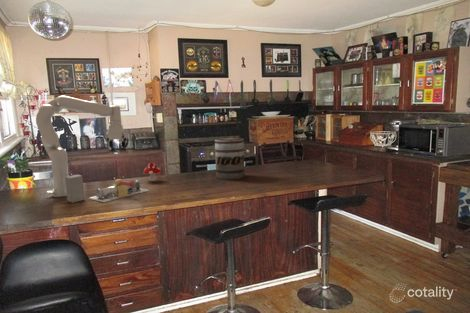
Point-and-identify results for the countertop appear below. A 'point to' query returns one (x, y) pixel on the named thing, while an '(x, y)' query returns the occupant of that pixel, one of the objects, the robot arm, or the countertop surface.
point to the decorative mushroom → (152, 171)
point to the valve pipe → (117, 192)
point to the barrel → (229, 158)
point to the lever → (124, 182)
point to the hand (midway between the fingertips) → (117, 147)
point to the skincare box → (74, 188)
